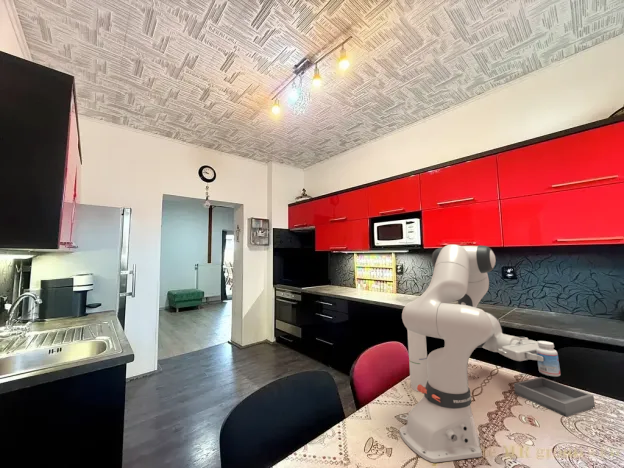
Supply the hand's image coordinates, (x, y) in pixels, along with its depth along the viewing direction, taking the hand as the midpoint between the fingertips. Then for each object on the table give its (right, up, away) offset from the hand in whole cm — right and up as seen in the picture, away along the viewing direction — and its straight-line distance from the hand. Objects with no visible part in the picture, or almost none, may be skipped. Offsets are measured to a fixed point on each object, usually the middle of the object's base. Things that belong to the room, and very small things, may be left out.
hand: (550, 357), depth 96 cm
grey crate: (0, -15, -1) cm, 15 cm away
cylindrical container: (-45, -18, +10) cm, 49 cm away
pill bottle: (0, -6, 0) cm, 6 cm away
